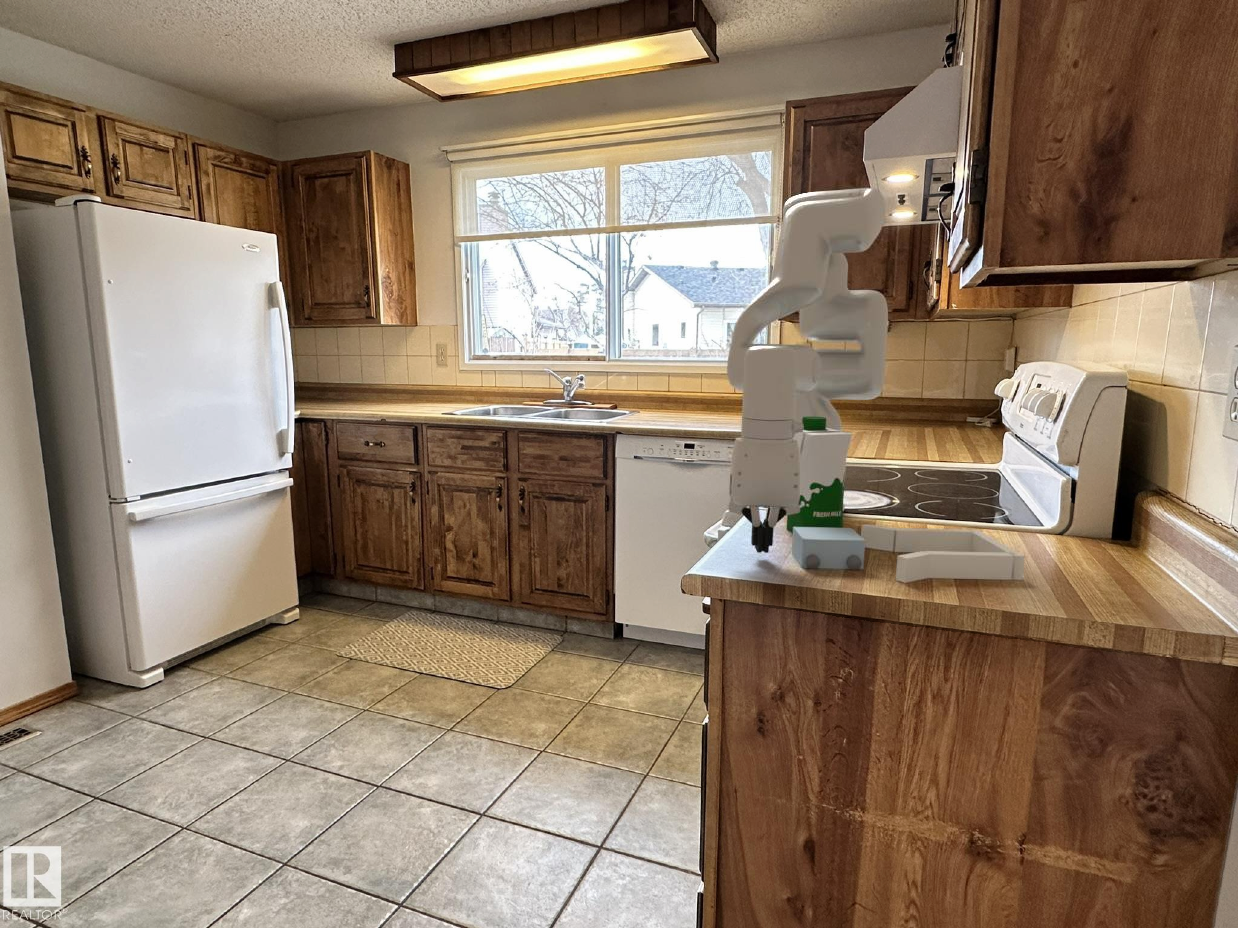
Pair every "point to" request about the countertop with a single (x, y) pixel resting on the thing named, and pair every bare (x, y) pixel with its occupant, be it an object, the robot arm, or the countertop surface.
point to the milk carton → (820, 475)
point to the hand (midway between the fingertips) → (761, 549)
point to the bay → (945, 553)
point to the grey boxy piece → (828, 548)
